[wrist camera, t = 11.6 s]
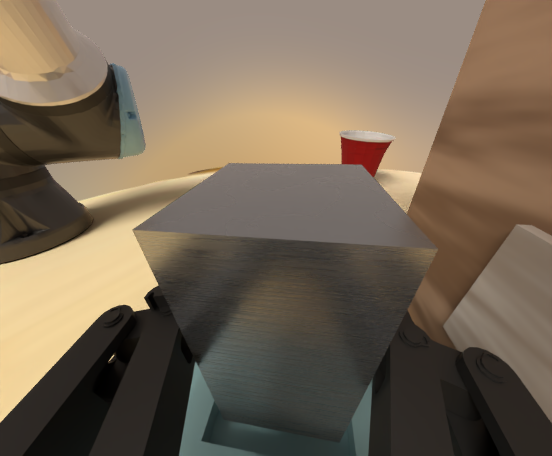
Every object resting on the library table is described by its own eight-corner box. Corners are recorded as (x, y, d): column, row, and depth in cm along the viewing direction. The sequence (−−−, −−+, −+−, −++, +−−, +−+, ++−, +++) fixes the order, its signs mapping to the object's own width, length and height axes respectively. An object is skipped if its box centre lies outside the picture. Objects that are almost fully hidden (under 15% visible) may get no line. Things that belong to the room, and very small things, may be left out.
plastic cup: (372, 201, 40) (388, 137, 34) (324, 190, 46) (330, 133, 40) (387, 186, 47) (403, 131, 40) (343, 178, 53) (351, 129, 47)
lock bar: (223, 419, 10) (132, 229, 4) (251, 318, 16) (229, 163, 9) (339, 442, 10) (438, 249, 3) (329, 327, 15) (361, 164, 8)
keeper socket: (-18, 657, 7) (-67, 675, 6) (212, 270, 24) (209, 259, 23) (676, 974, 4) (790, 1098, 3) (386, 286, 21) (391, 273, 20)
